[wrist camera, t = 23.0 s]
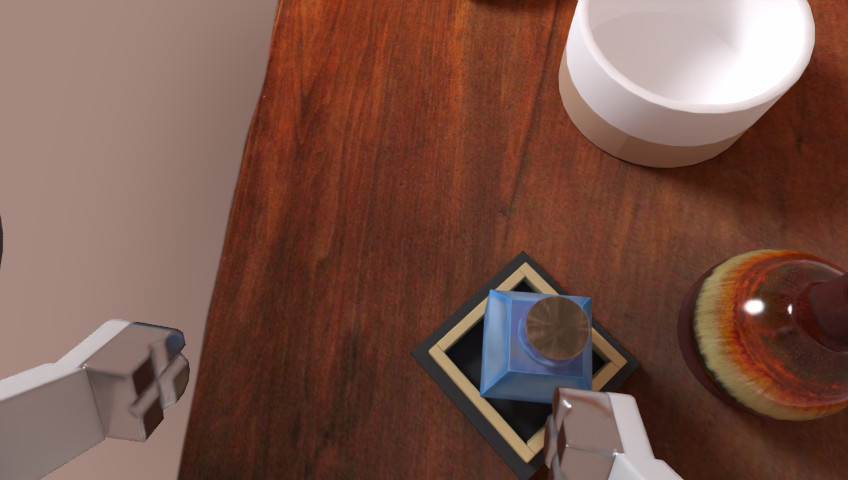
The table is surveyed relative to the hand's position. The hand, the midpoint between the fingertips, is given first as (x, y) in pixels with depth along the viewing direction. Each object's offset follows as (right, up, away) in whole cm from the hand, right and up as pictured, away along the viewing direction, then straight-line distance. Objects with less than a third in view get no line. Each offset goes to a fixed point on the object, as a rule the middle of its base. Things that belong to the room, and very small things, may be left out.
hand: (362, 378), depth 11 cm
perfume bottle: (+9, -5, +26) cm, 28 cm away
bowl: (+22, +17, +35) cm, 45 cm away
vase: (+25, -5, +27) cm, 37 cm away
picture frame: (+9, -6, +28) cm, 30 cm away
